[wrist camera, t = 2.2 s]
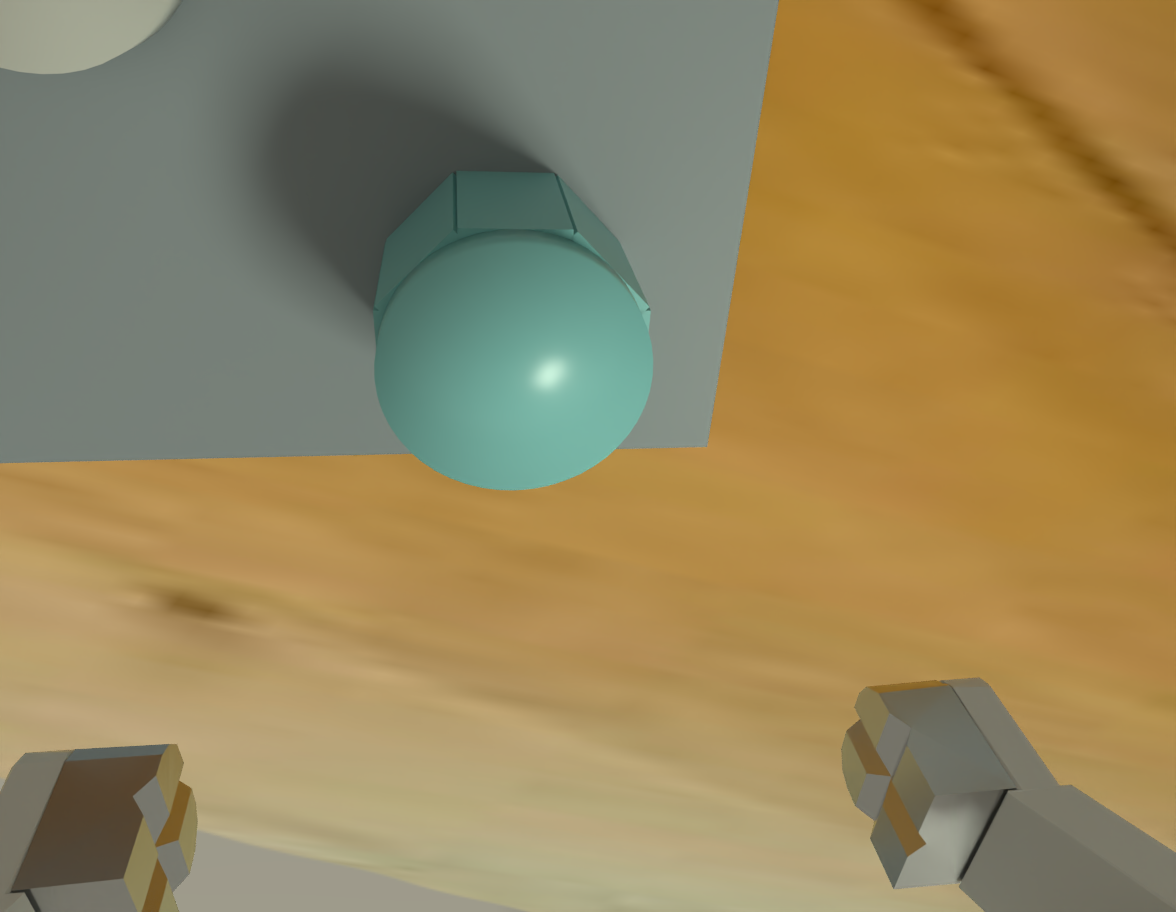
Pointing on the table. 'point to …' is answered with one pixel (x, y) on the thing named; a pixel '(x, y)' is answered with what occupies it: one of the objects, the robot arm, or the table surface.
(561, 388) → the cap
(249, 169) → the post board
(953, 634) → the table surface
